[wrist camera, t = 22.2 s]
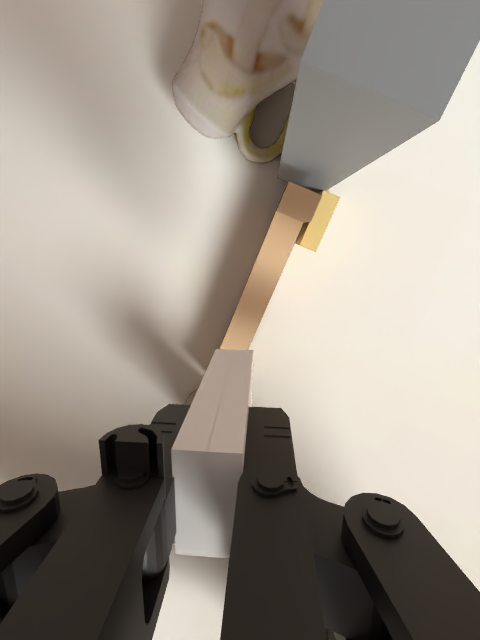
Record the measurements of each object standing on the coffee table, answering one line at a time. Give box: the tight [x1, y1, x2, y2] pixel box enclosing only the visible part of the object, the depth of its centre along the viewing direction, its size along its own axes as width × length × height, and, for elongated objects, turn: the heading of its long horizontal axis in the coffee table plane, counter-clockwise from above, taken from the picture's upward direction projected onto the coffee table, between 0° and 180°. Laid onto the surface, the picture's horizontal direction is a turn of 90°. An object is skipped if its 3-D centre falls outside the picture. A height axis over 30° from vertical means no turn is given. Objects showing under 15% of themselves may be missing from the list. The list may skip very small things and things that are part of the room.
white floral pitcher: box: [172, 0, 323, 162], centre depth 16 cm, size 8×10×10 cm
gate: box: [220, 182, 322, 350], centre depth 19 cm, size 14×2×6 cm, turn 158°
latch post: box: [277, 0, 480, 252], centre depth 13 cm, size 6×4×15 cm, turn 159°
